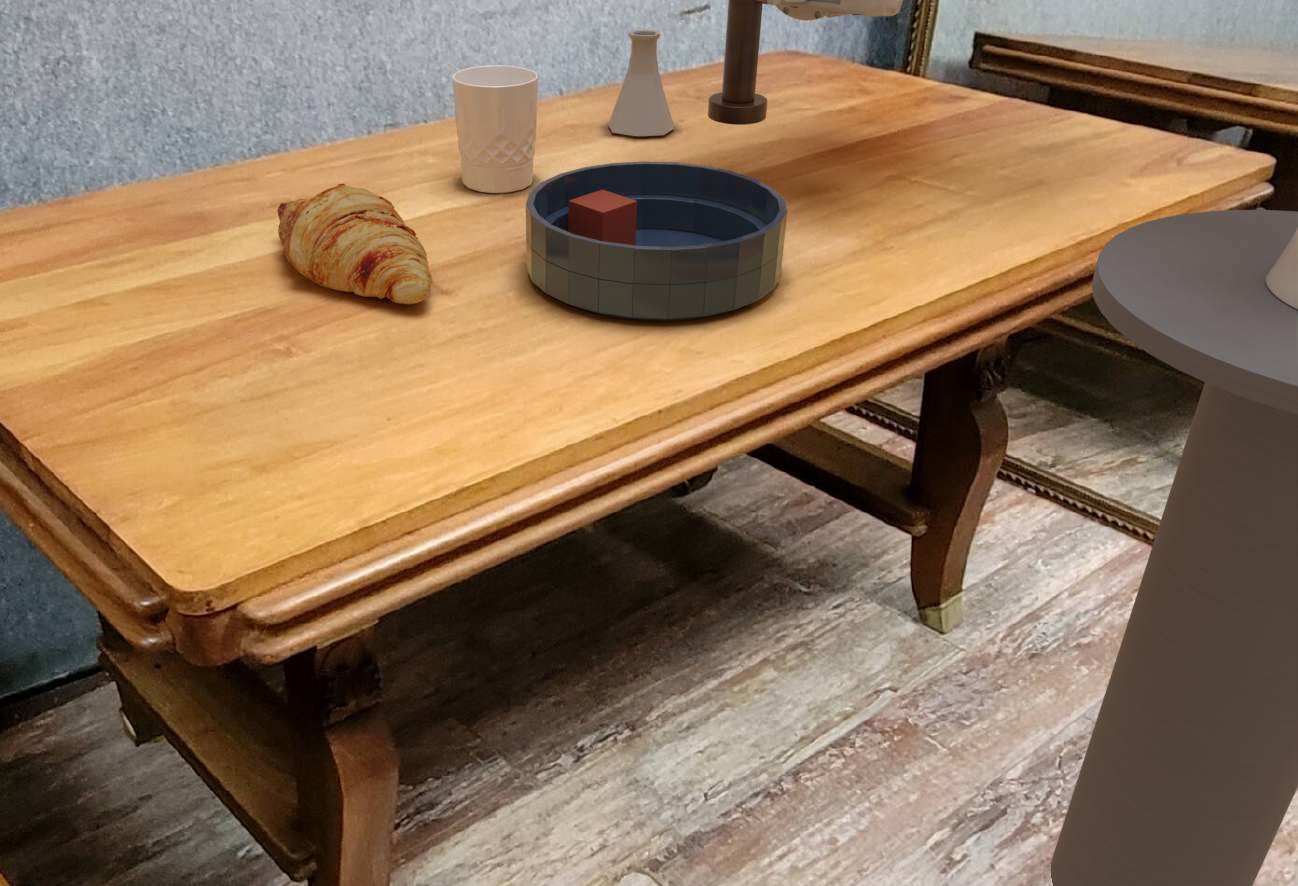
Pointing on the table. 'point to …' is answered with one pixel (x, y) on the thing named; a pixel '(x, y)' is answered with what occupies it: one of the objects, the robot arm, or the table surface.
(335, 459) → the table surface
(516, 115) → the white cup
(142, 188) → the table surface
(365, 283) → the croissant
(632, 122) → the flask
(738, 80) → the rod
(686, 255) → the bowl
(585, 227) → the block
